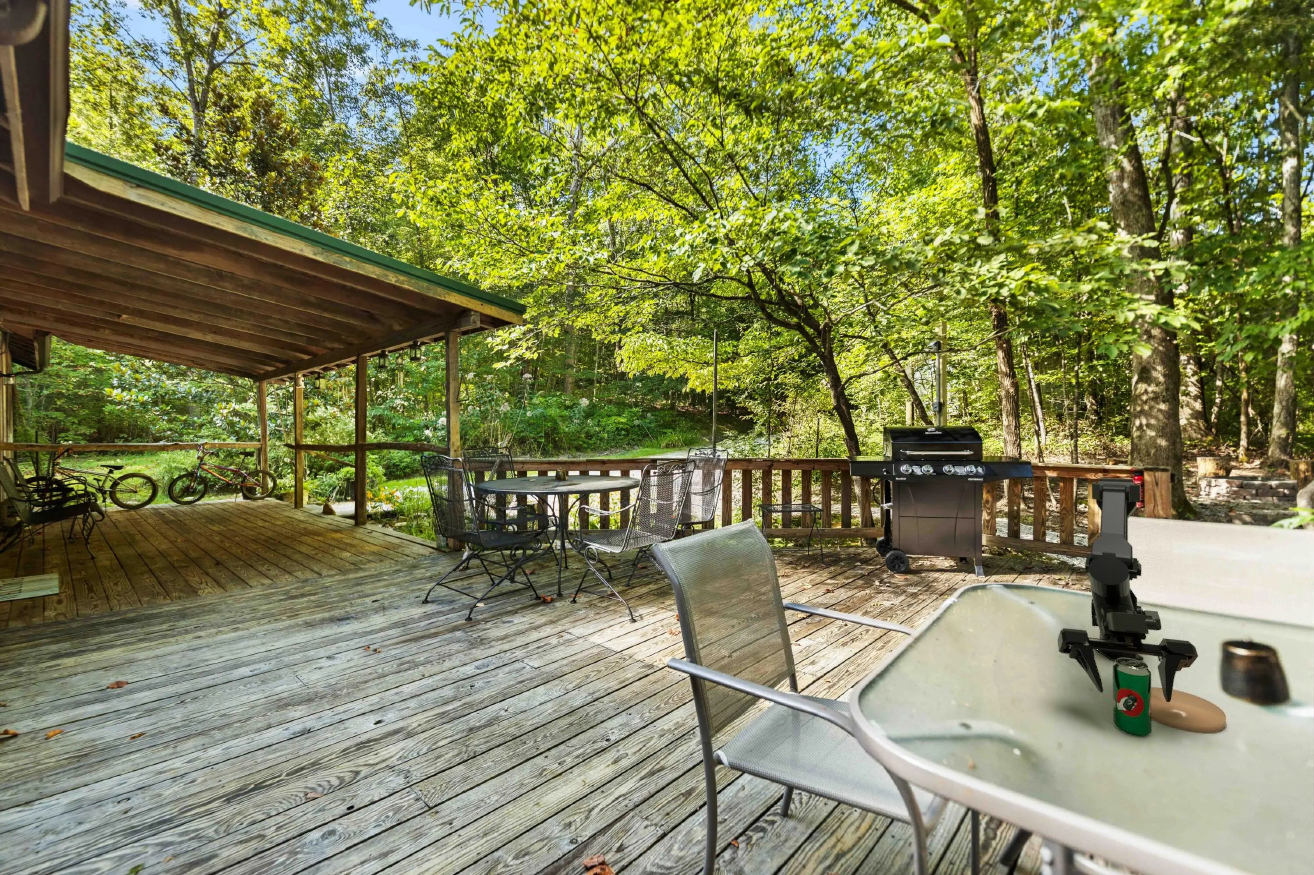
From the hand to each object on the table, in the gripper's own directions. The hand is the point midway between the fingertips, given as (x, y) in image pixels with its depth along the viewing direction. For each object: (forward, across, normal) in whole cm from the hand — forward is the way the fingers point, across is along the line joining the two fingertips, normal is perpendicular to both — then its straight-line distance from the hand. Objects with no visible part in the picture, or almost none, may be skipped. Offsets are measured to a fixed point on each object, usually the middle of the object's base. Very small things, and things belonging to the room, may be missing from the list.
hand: (1134, 696), depth 94 cm
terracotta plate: (-2, +9, +12) cm, 15 cm away
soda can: (+4, 0, +6) cm, 7 cm away
